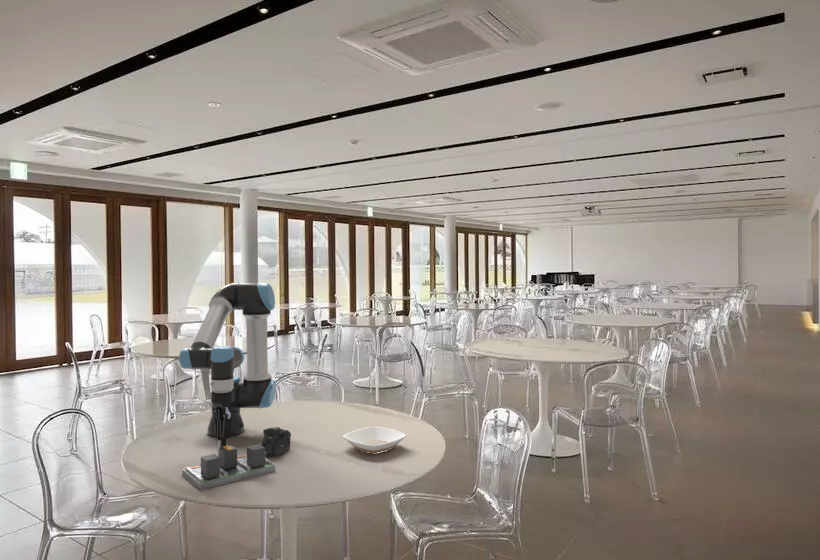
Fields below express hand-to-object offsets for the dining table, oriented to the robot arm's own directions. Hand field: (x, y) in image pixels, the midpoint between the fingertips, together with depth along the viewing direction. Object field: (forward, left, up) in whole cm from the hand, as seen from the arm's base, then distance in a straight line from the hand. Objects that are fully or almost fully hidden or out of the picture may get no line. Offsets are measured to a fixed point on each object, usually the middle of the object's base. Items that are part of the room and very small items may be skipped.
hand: (222, 457), depth 196 cm
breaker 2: (+5, 0, -2) cm, 5 cm away
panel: (+6, 0, -4) cm, 7 cm away
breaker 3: (+10, +8, -2) cm, 13 cm away
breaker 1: (+10, -8, -2) cm, 13 cm away
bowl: (+16, +55, -4) cm, 57 cm away
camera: (-4, +23, -4) cm, 24 cm away
